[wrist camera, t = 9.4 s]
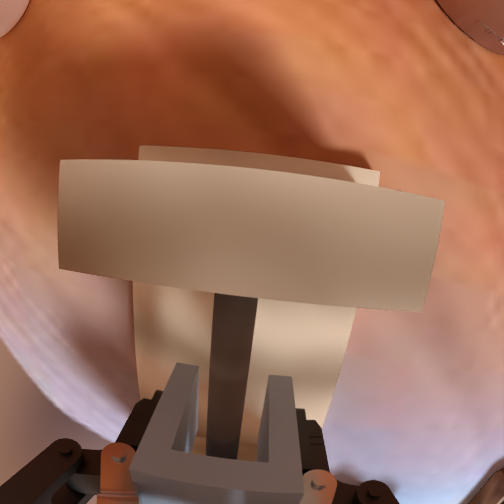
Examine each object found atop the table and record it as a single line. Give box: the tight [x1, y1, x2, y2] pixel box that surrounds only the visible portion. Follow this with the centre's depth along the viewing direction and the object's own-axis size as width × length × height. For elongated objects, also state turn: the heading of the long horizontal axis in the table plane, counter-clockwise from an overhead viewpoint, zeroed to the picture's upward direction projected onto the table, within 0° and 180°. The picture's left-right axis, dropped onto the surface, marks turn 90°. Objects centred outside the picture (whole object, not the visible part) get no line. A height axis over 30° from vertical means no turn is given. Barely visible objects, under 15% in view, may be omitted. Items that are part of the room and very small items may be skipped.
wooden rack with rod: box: [58, 145, 445, 462], centre depth 14 cm, size 22×12×9 cm, turn 174°
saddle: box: [129, 362, 304, 504], centre depth 10 cm, size 4×5×6 cm
